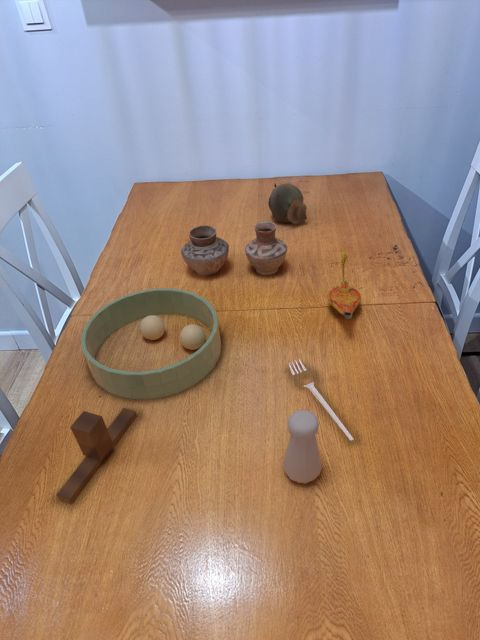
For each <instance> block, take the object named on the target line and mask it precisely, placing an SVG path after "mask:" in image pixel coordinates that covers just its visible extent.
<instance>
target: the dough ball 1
mask: <svg viewBox="0 0 480 640" xmlns="http://www.w3.org/2000/svg"><path fill="white" fill-rule="evenodd" d="M165 325H166V324H165V322H164V320H163V319H162V318H161V317H160V316H158V315H149V316H147V317H144V318H142V319H141V321H140V323H139V332H140V334H141V335H142V337H143V338H145V339H147V340H150V341H155V340H158V339H160V338H162V336H163V335H164V334H165V330H166V326H165Z"/></svg>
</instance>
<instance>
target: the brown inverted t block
mask: <svg viewBox="0 0 480 640" xmlns="http://www.w3.org/2000/svg"><path fill="white" fill-rule="evenodd" d="M137 416H138V415H137V412H136V411H135V410H132V409H129V408H126V407H123V408H122V409H121V410H120V412H119V414H118V415H117V416H116V417H115V419H114V420H113V421H112V422H111V424H110V425H109V426H108V427H107V425H106V423H105V420H104V418H103V416H102V415H99V414H96V413H93V412H89V411H86V410H83V411H82V412H81V413H80V414H79V416H78V417H77V418H76V419H75V420H74V421H73V423H72V424H71V425H70V427H69V429H70V430H71V432H72V434H73V436H74V438H75V441H76V442H77V445H78V447H79V450H80V451H81V453H82V455H83V456H84V458H83V460H82V461H81V462H80V464H79V465H78V466H77V467H76V468H75V470H74V471H73V472H72V474H70V476H69V478H68V479H67V480H66V482H65V483H64V484H63V485H62V487H61V488H60V489H59V491H58V492H57V493H56V498H57V499H58V500H59V501H62V502H64V503H67V504H70V505H73V503H74V502H75V501H76V499H77V498H78V496H79V495H80V494H81V492H82V491H83V490H84V489H85V487H86V486H87V485H88V483H89V482H90V481H91V479H92V478H93V476H94V475H95V473H96V472H97V471H98V470H99V468H100V467H101V466H102V464H103V463H104V461H105V460H106V459H107V457H108V456H109V454H111V452H112V450H113V449H114V448H115V446H117V443H119V441H120V440H121V438H122V437H123V436H124V435H125V433H126V432H127V430H128V429H129V427H130V426H131V425H132V423H133V422H134V421H135V419H136V418H137Z"/></svg>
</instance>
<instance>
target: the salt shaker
mask: <svg viewBox="0 0 480 640" xmlns="http://www.w3.org/2000/svg"><path fill="white" fill-rule="evenodd" d="M286 424H287V429H288V432H289V440H288V443H287V447H286V452H285V455H284V457H283V462H282V466H283V469H284V473H285V474H286V475H287V477H288V478H289V479H290V480H291V481H293V482H296V483H298V484H304V485H307V484H308V483H310V482H313V481H314V480H315V479H317V478H318V476H320V474H321V471H322V468H323V462H322V458H321V455H320V451H319V446H318V441H317V436H316V435H317V434H318V431H319V428H320V423H319V419H318V416H317V415H316V414H315V413H314V412H313V411H310V410H309V409H299V410H296V411H293V412H292V413H291V414H289V417H288V420H287V423H286Z"/></svg>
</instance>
